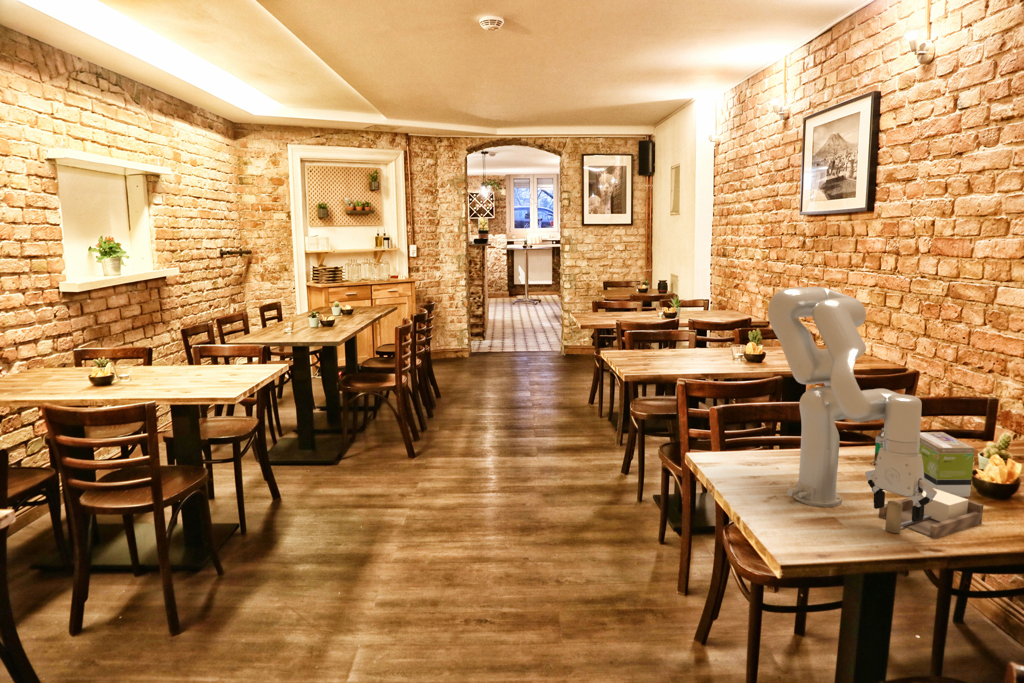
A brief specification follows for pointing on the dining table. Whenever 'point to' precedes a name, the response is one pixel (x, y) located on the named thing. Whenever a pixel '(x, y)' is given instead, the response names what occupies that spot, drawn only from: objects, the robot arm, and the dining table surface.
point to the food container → (878, 445)
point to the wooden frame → (937, 527)
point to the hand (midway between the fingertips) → (897, 514)
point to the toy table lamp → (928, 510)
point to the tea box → (947, 463)
